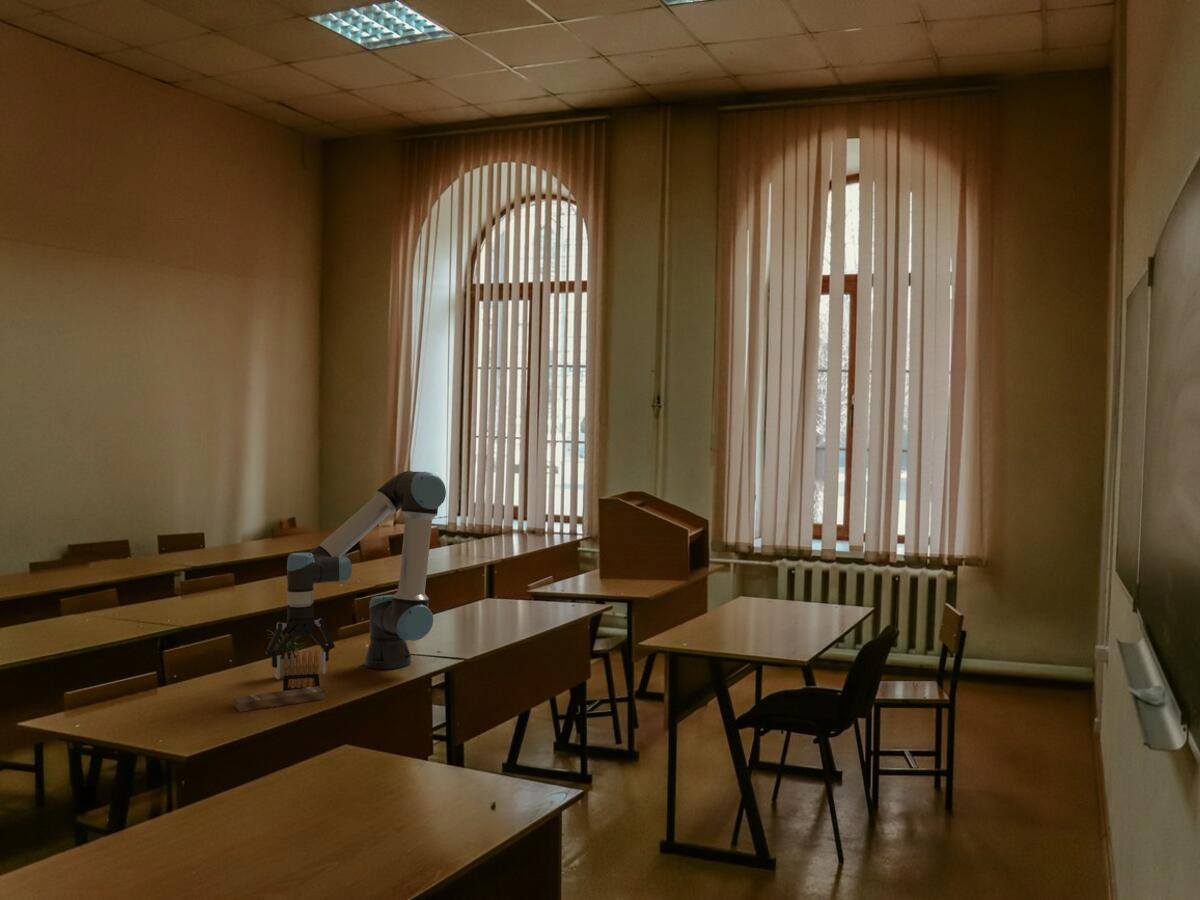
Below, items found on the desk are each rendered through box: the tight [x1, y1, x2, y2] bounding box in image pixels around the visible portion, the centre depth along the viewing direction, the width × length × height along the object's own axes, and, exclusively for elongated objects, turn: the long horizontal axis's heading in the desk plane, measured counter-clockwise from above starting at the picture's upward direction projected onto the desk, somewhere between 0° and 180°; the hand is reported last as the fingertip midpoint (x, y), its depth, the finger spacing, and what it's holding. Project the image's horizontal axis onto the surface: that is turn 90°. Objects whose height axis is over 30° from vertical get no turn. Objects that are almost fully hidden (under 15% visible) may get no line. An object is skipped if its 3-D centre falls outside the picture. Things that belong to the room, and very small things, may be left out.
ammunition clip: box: [282, 650, 321, 691], centre depth 308 cm, size 11×2×12 cm, turn 103°
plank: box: [233, 686, 326, 713], centre depth 295 cm, size 24×6×3 cm, turn 122°
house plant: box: [265, 629, 306, 679], centre depth 325 cm, size 14×14×16 cm
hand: (300, 675), depth 308 cm, fingers open, 13 cm apart
